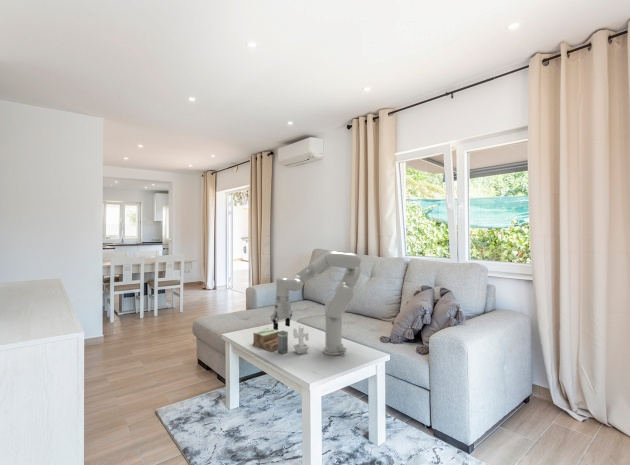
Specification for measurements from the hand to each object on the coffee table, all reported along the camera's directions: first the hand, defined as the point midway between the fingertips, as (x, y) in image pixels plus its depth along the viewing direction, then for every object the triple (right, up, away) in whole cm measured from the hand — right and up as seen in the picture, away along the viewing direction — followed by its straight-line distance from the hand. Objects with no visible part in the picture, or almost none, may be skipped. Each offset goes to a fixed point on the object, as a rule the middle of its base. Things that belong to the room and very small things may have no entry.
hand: (281, 327), depth 195 cm
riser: (-8, -14, +11) cm, 20 cm away
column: (+1, -15, 0) cm, 14 cm away
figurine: (+11, -15, +1) cm, 18 cm away
